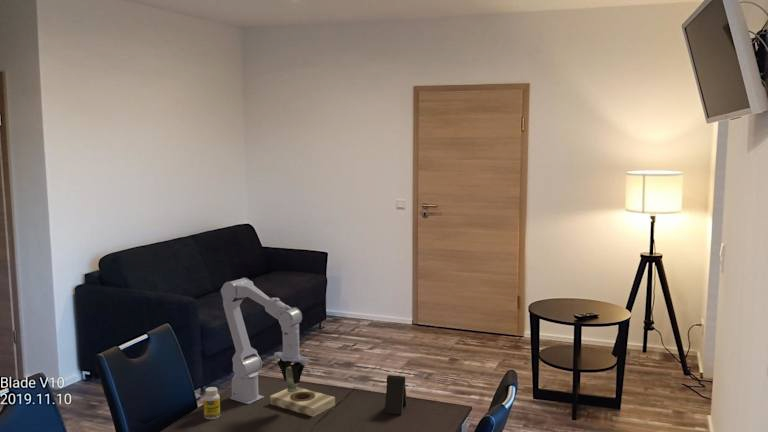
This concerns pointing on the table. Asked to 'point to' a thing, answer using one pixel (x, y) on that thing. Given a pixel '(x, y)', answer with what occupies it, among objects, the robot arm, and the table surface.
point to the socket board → (303, 401)
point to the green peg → (290, 380)
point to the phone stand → (395, 395)
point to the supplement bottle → (211, 403)
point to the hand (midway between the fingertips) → (291, 381)
